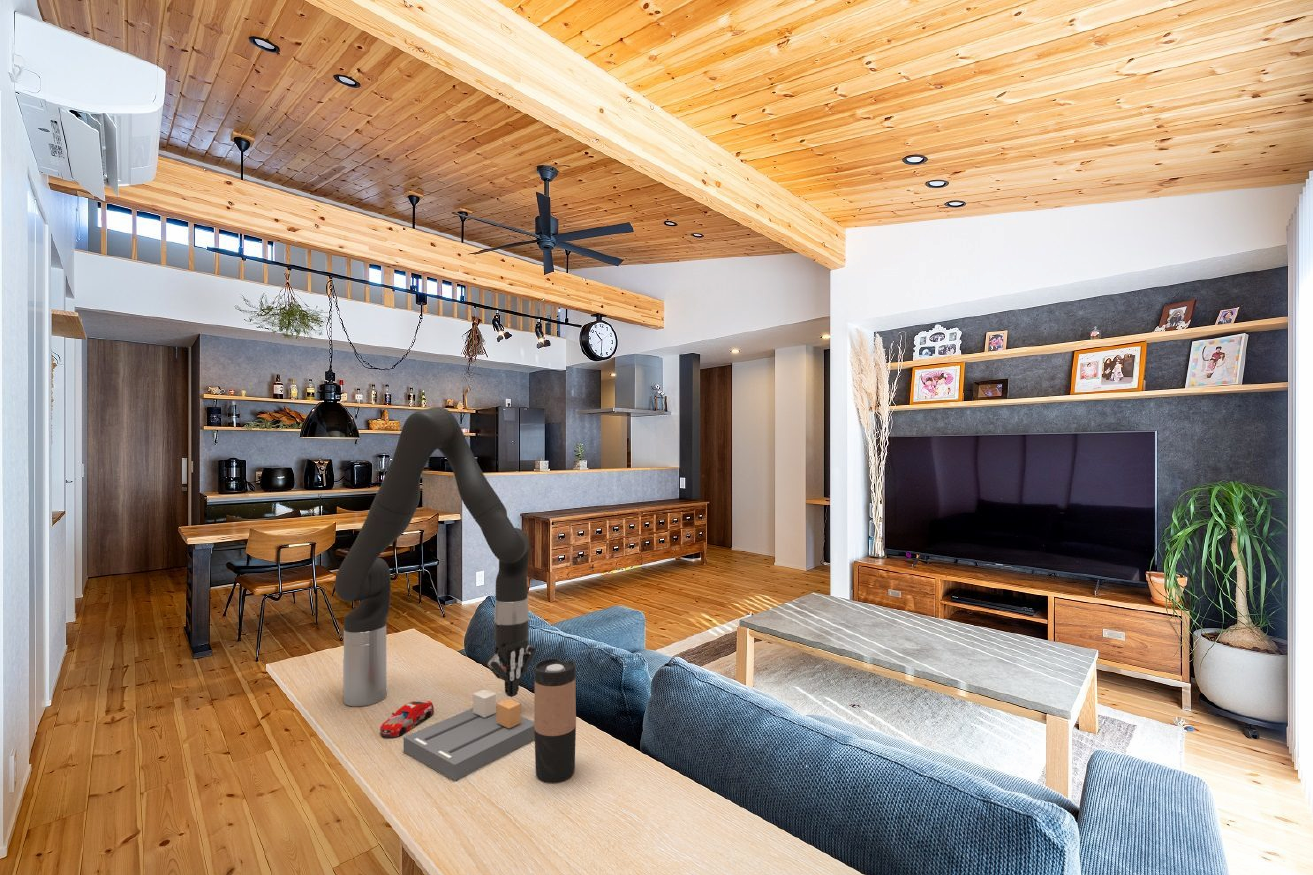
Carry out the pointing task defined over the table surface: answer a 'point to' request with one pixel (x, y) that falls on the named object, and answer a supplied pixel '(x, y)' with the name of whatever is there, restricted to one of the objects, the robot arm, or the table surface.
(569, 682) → the travel mug
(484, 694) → the fader
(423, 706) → the race car
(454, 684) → the table surface
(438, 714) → the table surface
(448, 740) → the console
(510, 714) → the fader
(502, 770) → the table surface
